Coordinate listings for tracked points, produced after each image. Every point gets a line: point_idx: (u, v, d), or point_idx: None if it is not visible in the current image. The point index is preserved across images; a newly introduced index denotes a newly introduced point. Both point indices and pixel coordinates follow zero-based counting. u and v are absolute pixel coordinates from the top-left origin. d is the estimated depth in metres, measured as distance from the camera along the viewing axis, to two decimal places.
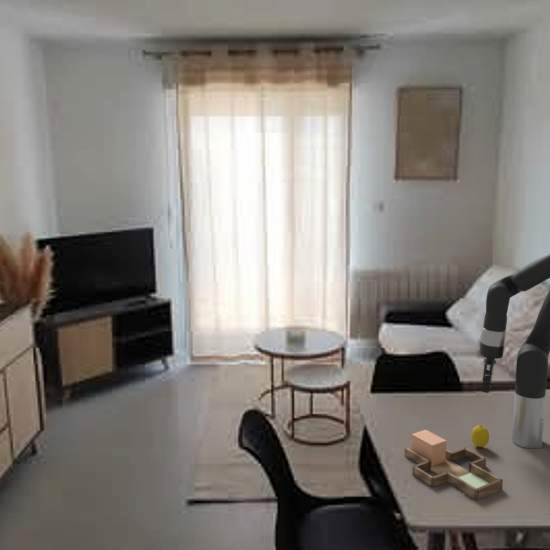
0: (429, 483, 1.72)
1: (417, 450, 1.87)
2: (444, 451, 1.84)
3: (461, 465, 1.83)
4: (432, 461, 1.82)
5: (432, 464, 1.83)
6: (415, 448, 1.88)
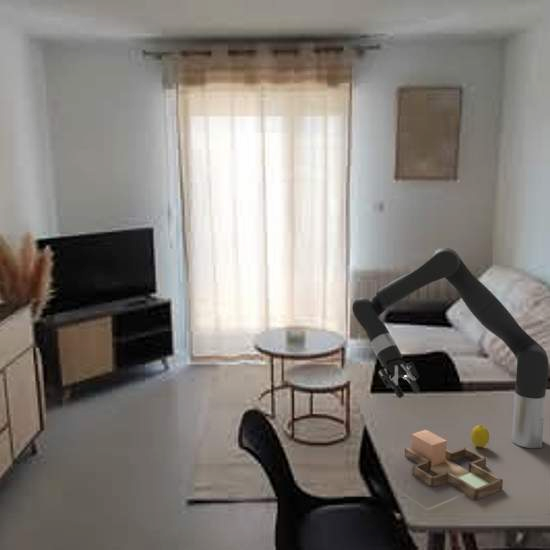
0: (429, 483, 1.72)
1: (417, 450, 1.87)
2: (444, 451, 1.84)
3: (461, 465, 1.83)
4: (432, 461, 1.82)
5: (432, 464, 1.83)
6: (415, 448, 1.88)
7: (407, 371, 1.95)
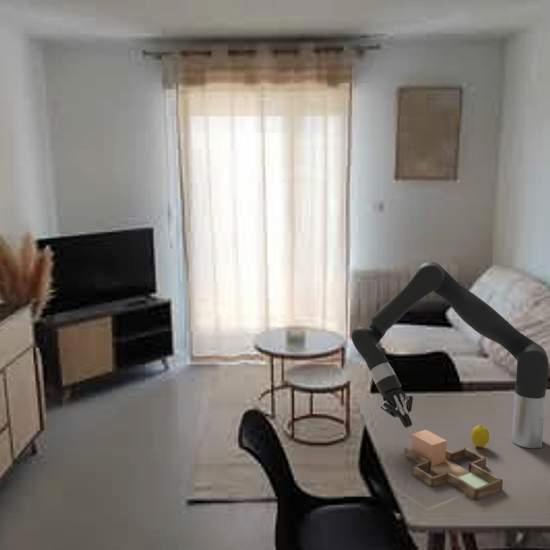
0: (429, 483, 1.72)
1: (417, 450, 1.87)
2: (444, 451, 1.84)
3: (461, 465, 1.83)
4: (432, 461, 1.82)
5: (432, 464, 1.83)
6: (415, 448, 1.88)
7: (403, 402, 1.96)
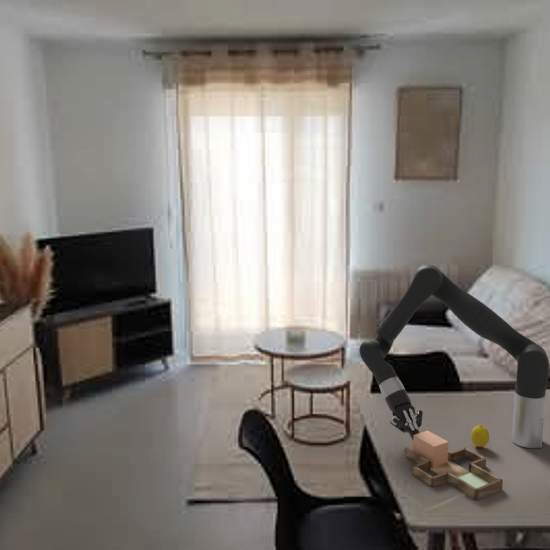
0: (429, 483, 1.72)
1: (419, 451, 1.87)
2: (446, 452, 1.84)
3: (461, 465, 1.83)
4: (434, 462, 1.82)
5: (434, 465, 1.82)
6: (416, 449, 1.87)
7: (413, 417, 1.93)
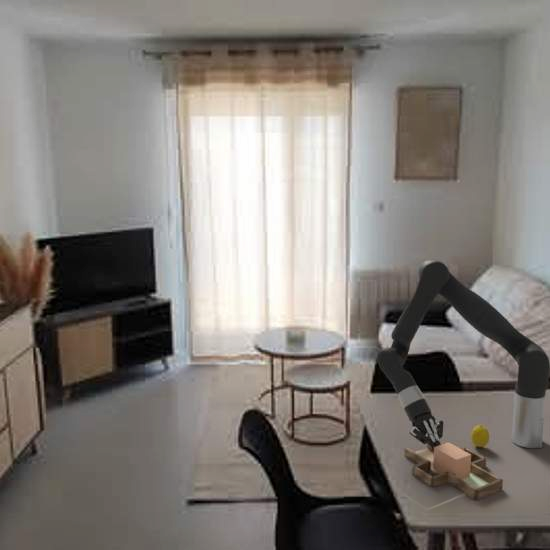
0: (429, 483, 1.72)
1: (440, 464, 1.79)
2: (469, 466, 1.76)
3: None
4: (456, 476, 1.74)
5: None
6: (437, 462, 1.79)
7: (433, 428, 1.86)
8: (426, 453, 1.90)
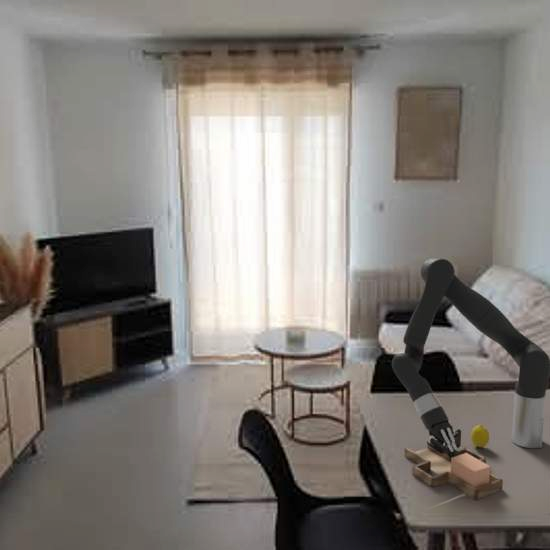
0: (429, 483, 1.72)
1: (457, 476, 1.72)
2: (487, 478, 1.69)
3: None
4: None
5: None
6: (455, 473, 1.73)
7: (451, 437, 1.79)
8: (426, 453, 1.90)
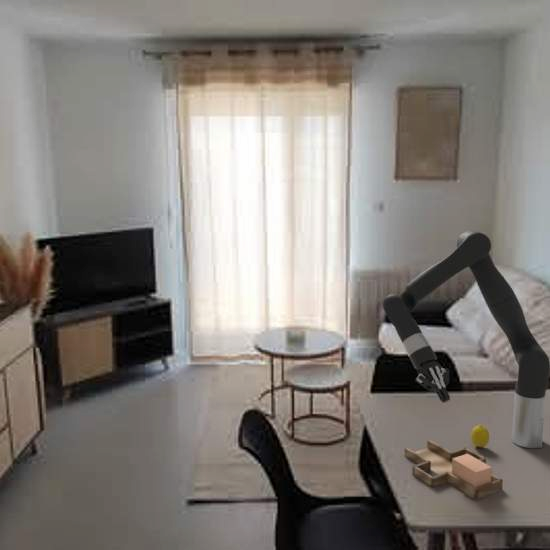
0: (429, 483, 1.72)
1: (458, 476, 1.72)
2: (489, 478, 1.68)
3: None
4: None
5: None
6: (456, 474, 1.72)
7: (439, 375, 1.81)
8: (426, 453, 1.90)
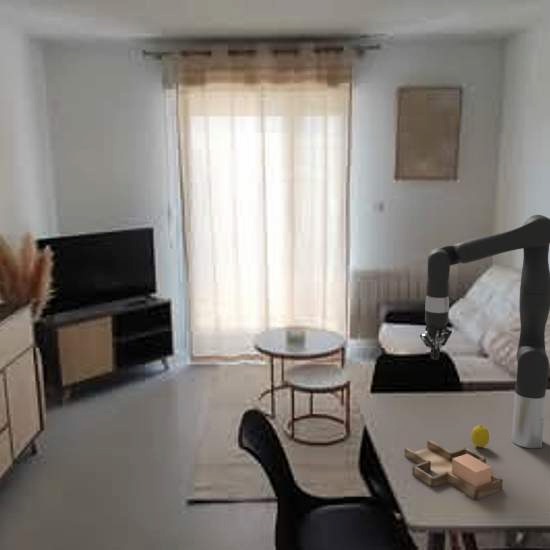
0: (429, 483, 1.72)
1: (458, 476, 1.72)
2: (489, 478, 1.68)
3: None
4: None
5: None
6: (456, 474, 1.72)
7: (441, 337, 1.98)
8: (426, 453, 1.90)
